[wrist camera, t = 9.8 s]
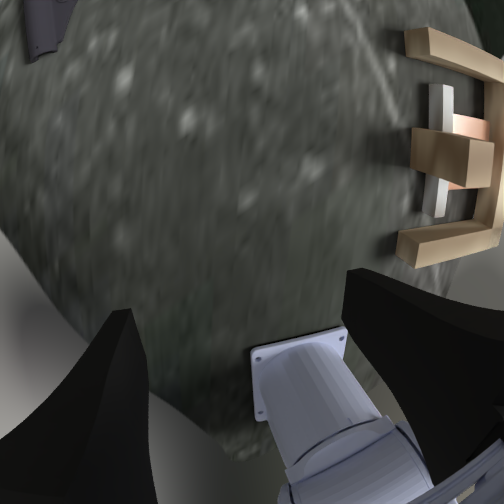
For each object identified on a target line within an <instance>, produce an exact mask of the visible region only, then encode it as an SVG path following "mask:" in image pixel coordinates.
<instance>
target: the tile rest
mask: <svg viewBox="0 0 504 504" xmlns="http://www.w3.org/2000/svg"><path fill="white" fill-rule="evenodd" d="M404 38H405V52H406V57H409V58H413V59H417V60H421V61H424V62H428V63H431V64H435V65H438V66H441V67H444V68H448V69H451V70H454V71H457V72H460V73H462V74H465V75H468V76H471V77H474V78H476V79H479V80H481V81H484V120H486V121H490V131H489V142H492V143H494V156H493V166H492V175H491V183H490V187H484V188H478V194H477V200H476V207H475V213H474V218H473V219H471V220H464V221H458V222H452V223H445V224H439V225H433V226H426V227H420V228H413V229H407V230H401V231H399V232H398V239H397V246H396V253H395V255H396V256H398V257H399V258H401V259H402V260H403V261H405V262H406V263H407V264H409V265H410V266H412V267H413V268H414V269H416V268H420V267H424V266H428V265H432V264H436V263H439V262H443V261H447V260H451V259H454V258H458V257H462V256H465V255H469V254H472V253H476V252H479V251H483V250H486V249H489V248H493V247H496V246H498V244H499V239H500V235H501V230H502V226H503V221H504V61H502V60H500V59H498V58H497V57H495V56H493V55H491V54H489V53H487V52H485V51H483V50H481V49H479V48H477V47H475V46H473V45H470V44H468V43H466V42H464V41H462V40H459V39H457V38H455V37H452V36H450V35H448V34H445V33H443V32H440V31H438V30H435V29H432V28H430V27H424V28H418V29H412V30H407V31H404Z"/></svg>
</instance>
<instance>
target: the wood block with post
mask: <svg viewBox="0 0 504 504" xmlns="http://www.w3.org/2000/svg"><path fill="white" fill-rule="evenodd" d="M493 156H494V143H492V142H489V141H485V140H481V139H477V138H473V137H468V136H464V135H459V134H455V133H453V87H451V86H447V85H444V84H429V129H424V128H414V127H412V137H411V158H410V168H412V169H415V170H418V171H421V172H424V173H426V178H425V188H424V197H423V206H422V212H424V213H426V214H428V215H430V216H432V217H434V218H437V217H444V215H445V208H446V201H447V193H448V185H449V182H451V183H454V184H456V185H459V186H462V187H464V188H479V187H490V183H491V175H492V166H493Z"/></svg>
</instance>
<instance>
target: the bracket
mask: <svg viewBox="0 0 504 504" xmlns="http://www.w3.org/2000/svg"><path fill="white" fill-rule="evenodd" d="M77 1H78V0H23V2H24V15H25V25H26V34H27V42H28V49H29V56H30V61H31V62H32V63H34V62H35V61H37V60H38V56H39V55H41V54H43V53H46V52H53V53H54V52H57V44H58V43H61V42H62V41H63V38H64V35H65V31H66V28H67V25H68V22H69V19H70V16H71V14H72V11H73V9H74V7H75V5H76V3H77Z"/></svg>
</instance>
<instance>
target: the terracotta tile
mask: <svg viewBox="0 0 504 504" xmlns="http://www.w3.org/2000/svg"><path fill="white" fill-rule="evenodd" d="M489 131H490V121H486V120H481V119H477V118H472V117H468V116H463V115H458V114H453V133H455V134H459V135H464V136H468V137H473V138H477V139H481V140H485V141H489ZM479 188H484V187H479ZM450 189H467V188H464V187H462V186H459V185H456V184H454V183H451V182H449V185H448V190H450Z"/></svg>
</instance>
